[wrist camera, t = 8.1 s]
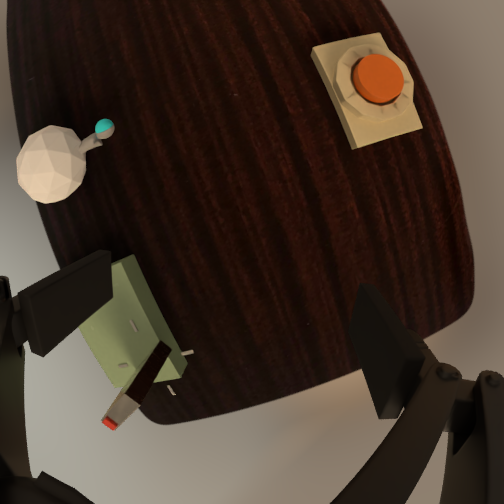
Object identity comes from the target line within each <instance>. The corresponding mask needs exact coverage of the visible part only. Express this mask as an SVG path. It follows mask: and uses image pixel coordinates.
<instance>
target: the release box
mask: <svg viewBox="0 0 504 504" xmlns="http://www.w3.org/2000/svg"><path fill="white" fill-rule="evenodd" d="M371 54H380V55H384V56H386V57H388V58H390V59H392V60H393V61H394V62H395V63H396V64H397V65H398V66H399V68H400V69H401V71H402V74H403V77H404V86H403V89H402V91H401V92H400V94H399V95H397V96H396V97H394V98H393V99H391V100H389V101H387V102H384V103H376V102H372V101H369V100H367V99H366V98H364V97H363V96H362V95H361V94H360V93H359V92H358V90H357V89H356V87H355V85H354V81H353V72H354V70H355V68H356V66H357V65H358V64H359V62H360V61H361V60H362V59H363V58H364V57H366V56H368V55H371ZM311 57H312V59H313V61H314V63H315V65H316V67H317V69H318V72H319V74H320V76H321V78H322V80H323V82H324V84H325V86H326V89H327V91H328V93H329V95H330V97H331V100H332V102H333V104H334V106H335V109H336V111H337V113H338V116H339V118H340V121H341V123H342V126H343V128H344V130H345V133H346V135H347V138H348V141H349V143H350V146H351V148H352V149H355V148H359V147H362V146H365V145H368V144H371V143H374V142H378V141H381V140H384V139H387V138H391V137H394V136H397V135H401V134H404V133H407V132H411V131H414V130H418V129H421V128H423V127H422V124H421V122H420V119H419V116H418V114H417V111H416V109H415V106H414V104H413V84H414V83H413V80H412V78H411V75H410V73H409V71H408V69H407V67H406V65H405V64H404V63H403V62H402V61H401V60H400V59H399V58H398V57H397V56H395V55H394V54H393V53H392V52H391V51H390V50H389V49H388V47H387V46H386V44H385V42H384V40H383V38H382V36H381V35H380V33H375V34H369V35H364V36H359V37H354V38H349V39H344V40H340V41H336V42H332V43H328V44H324V45H320V46H316V47H313V49H312V53H311Z"/></svg>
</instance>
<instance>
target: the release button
mask: <svg viewBox="0 0 504 504" xmlns="http://www.w3.org/2000/svg"><path fill="white" fill-rule="evenodd" d="M353 81H354V85H355V87H356V89H357V90H358V92H359V93H360V94H361V95H362V96H363V97H364V98H366V99H367V100H369V101H372V102H376V103H384V102H387V101H389V100H391V99H393V98H394V97H396V96H397V95H399V94H400V92H401V91H402V89H403V86H404V77H403V74H402V71H401V69H400V68H399V66H398V65H397V64H396V63H395V62H394V61H393V60H392V59H390V58H388V57H386V56H384V55H380V54H371V55H368V56H366V57H364V58H363V59H362V60H361V61H360V62H359V64H358V65H357V66H356V68H355V70H354V72H353Z"/></svg>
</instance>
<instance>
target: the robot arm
mask: <svg viewBox="0 0 504 504" xmlns="http://www.w3.org/2000/svg"><path fill="white" fill-rule="evenodd" d="M112 298H113V284H112V266H111V251H106V250H98V251H96V252H94V253H92V254H90V255H88V256H86V257H84V258H82V259H80V260H78V261H76V262H74V263H72V264H70V265H68V266H66V267H64V268H62V269H60V270H59V271H57V272H55V273H53V274H51V275H49V276H47V277H45V278H44V279H42V280H40V281H38V282H36V283H34V284H33V285H31V286H29V287H27V288H25V289H24V290H22V291H20V292H18V295H16V296H14V297H13V298H12V296H11V290H10V284H9V278H8V277H6V276H0V504H94V503H93V502H92V501H90V500H89V499H87V498H86V497H85V496H84V495H82V494H81V493H80V492H79V491H77V490H76V489H75V488H73V487H71V486H69V485H67V484H65V483H63V482H61V481H59V480H57V479H56V478H54V477H52V476H50V475H48V474H47V473H45V472H43V471H42V472H41V473H40V475H39V476H38V478H33V477H32V474H31V471H30V464H29V457H28V450H27V440H26V428H25V412H24V364H25V349H24V346H23V343H25V342H26V341H27V340H28V342H29V345H30V349H31V352H33V353H35V354H37V355H39V356H41V357H44V356H45V355H46V354H48V353H49V352H50V351H51V350H52V349H53V348H54V347H56V346H57V345H58V344H59V343H60V342H61V341H62V340H64V339H65V338H66V337H67V336H68V335H69V334H70V333H72V332H73V331H74V330H75V329H76V328H77V327H79V326H80V325H81V324H82V323H83V322H85V321H86V320H87V319H88V318H89V317H91V316H92V315H93V314H94V313H95V312H96V311H98V310H99V309H100V308H101V307H103V306H104V305H105V304H106V303H107V302H109V301H110V300H111V299H112ZM348 332H349V335H350V338H351V340H352V343H353V346H354V348H355V351H356V354H357V357H358V359H359V362H360V365H361V368H362V371H363V374H364V376H365V379H366V382H367V385H368V388H369V391H370V394H371V397H372V400H373V403H374V406H375V409H376V412H377V415H378V418H379V419H396V418H398V416H399V414H400V412H401V410H402V408H403V406H404V409H405V410H404V411H403V413H402V414H401V416H400V417H399V419H398V420H397V422H396V423H395V425H394V426H393V427H392V429H391V430H390V432H389V433H388V435H387V436H386V437H385V439H384V440H383V442H382V443H381V444H380V445H379V447H378V448H377V449H376V451H375V452H374V453H373V455H372V456H371V457H370V458H369V460H368V461H367V462H366V463H365V465H364V466H363V467H362V468H361V469H360V471H359V472H358V473H357V474H356V475H355V477H354V478H353V479H352V480H351V481H350V482H349V483H348V485H347V486H346V487H345V488H344V489H343V490H342V491H341V492H340V493H339V495H338V496H337V497H336V498H335V499H334V500H333V501H332V502H331V503H330V504H405V503H406V501H407V500H408V498H409V496H410V495H411V493H412V491H413V489H414V488H415V486H416V484H417V482H418V481H419V479H420V477H421V475H422V473H423V471H424V469H425V468H426V466H427V463H428V462H429V460H430V457H431V456H432V453H433V451H434V449H435V447H436V445H437V443H438V441H439V438H440V436H441V434H442V431H445V432H448V446H447V456H446V465H445V474H444V480H443V487H442V493H441V498H440V504H504V378H503V377H502V375H500V374H498V373H497V372H493V371H488V370H486V371H482V372H481V373H480V374H479V376H478V378H477V380H476V381H470V380H464V379H462V375H461V373H460V372H459V371H458V370H457V369H456V368H455V367H453V366H451V365H449V364H446V363H439V362H438V360H437V359H436V357H435V356H434V355H433V353H432V352H431V350H430V349H428V346H427V345H426V344H425V342H424V341H423V339H422V338H421V336H420V335H418V334H417V333H416V332H414V331H413V330H410V329H406V328H405V327H404V325H403V324H402V322H401V321H400V320H399V318H398V317H397V315H396V314H395V313H394V311H393V310H392V308H391V307H390V306H389V304H388V303H387V302H386V300H385V299H384V298H383V296H382V295H381V294H380V292H379V291H378V290H377V288H376V287H375V286H374V285H373V284H364V283H360V285H359V289H358V293H357V298H356V302H355V306H354V310H353V314H352V318H351V322H350V326H349V330H348Z"/></svg>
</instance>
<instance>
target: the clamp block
mask: <svg viewBox="0 0 504 504" xmlns="http://www.w3.org/2000/svg"><path fill="white" fill-rule="evenodd" d="M111 266H112V284H113V298H112V299H111V300H110V301H109V302H107V303H106V304H105V305H104V306H103V307H101V308H100V309H99V310H98V311H96V312H95V313H94V314H93V315H92V316H91V317H89V318H88V319H87V320H86V321H85V322H83V323H82V324H81V325H80V326H79V327H78V328H79V329H80V331H81V333H82V335H83V337H84V338H85V340H86V342H87V344H88V345H89V347H90V349H91V351H92V352H93V354H94V355H95V357H96V359H97V360H98V362H99V364H100V365H101V367H102V369H103V370H104V372H105V373H106V375H107V376H108V378H109V379H110V381H111V383H112V384H113V386H114V387H115V388H117V387H124V386H125V384H126V383H127V381H128V380H129V378H130V377H131V375H132V374H133V372H134V371H135V369H136V368H137V367H138V366H139V365H140V363H141V362H142V361H143V360H144V359H145V357H146V356H147V355H148V354H149V353H150V351H151V350H152V349H153V348H154V347H155V346H156V344H157V343H158V342H159V341H160V340H161V341H163V342H164V343H165V344H166V345H168V346H169V347H170V348H172V351H171V353H170V354H169V356H168V358H167V360H166V361H165V363H164V365H163V367H162V368H161V370H160V372H159V374H158V375H157V377H156V379H155V380H154V382H159V381H166V380H171V379H177V378H181V376H182V374H183V372H184V370H185V367H186V365H187V361H186V359H185V357H184V355H187V354H192V353H194V351H193V350H188V351H184V352H181V350H180V348H179V346H178V344H177V343H176V341H175V339H174V337H173V335H172V333H171V331H170V329H169V327H168V325H167V323H166V321H165V319H164V317H163V316H162V314H161V312H160V309H159V307H158V305H157V303H156V301H155V299H154V297H153V295H152V293H151V291H150V289H149V287H148V285H147V282H146V280H145V278H144V276H143V274H142V271H141V269H140V267H139V265H138V262H137V260H136V258H135V256H134V254H133V255H130V256H128V257H125V258H123V259H121V260H118V261H116V262H114V263H111ZM167 387H168V388H169V390H170V392H171V393H172V395H175V392H174V391H173V389H172V387H171V386H170V385H168V386H167Z"/></svg>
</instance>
